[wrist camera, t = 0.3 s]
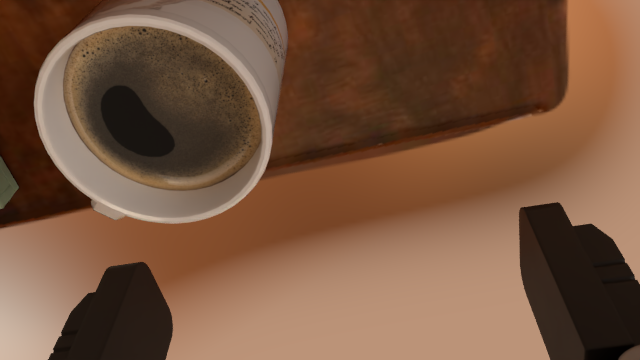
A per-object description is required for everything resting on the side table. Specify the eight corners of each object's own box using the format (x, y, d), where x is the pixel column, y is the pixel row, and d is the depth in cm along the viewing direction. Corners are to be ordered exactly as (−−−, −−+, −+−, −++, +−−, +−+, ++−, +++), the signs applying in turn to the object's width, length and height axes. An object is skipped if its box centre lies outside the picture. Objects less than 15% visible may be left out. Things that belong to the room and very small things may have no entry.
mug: (316, 95, 36) (311, 205, 27) (140, 150, 38) (79, 269, 29) (246, -83, 30) (209, -21, 21) (46, -5, 33) (-66, 81, 23)
